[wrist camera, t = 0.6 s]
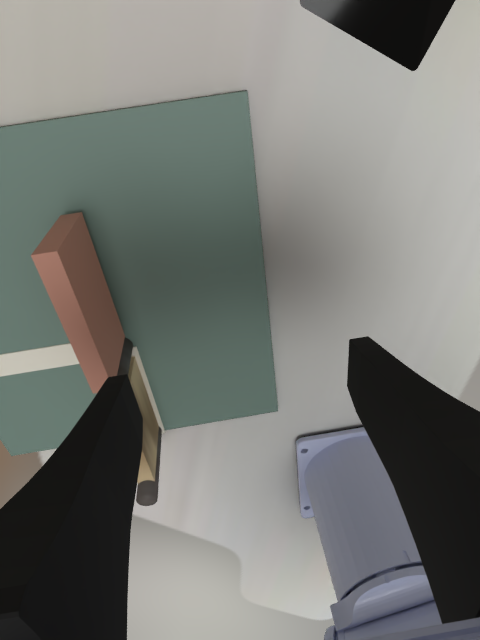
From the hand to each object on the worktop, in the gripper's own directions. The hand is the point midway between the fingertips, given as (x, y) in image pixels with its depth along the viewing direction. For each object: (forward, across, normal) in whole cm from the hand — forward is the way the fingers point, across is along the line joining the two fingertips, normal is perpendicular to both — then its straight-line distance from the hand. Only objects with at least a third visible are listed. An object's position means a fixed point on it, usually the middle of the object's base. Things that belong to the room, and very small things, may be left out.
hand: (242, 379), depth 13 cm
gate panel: (+8, +6, -1) cm, 10 cm away
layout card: (+8, +6, +2) cm, 11 cm away
